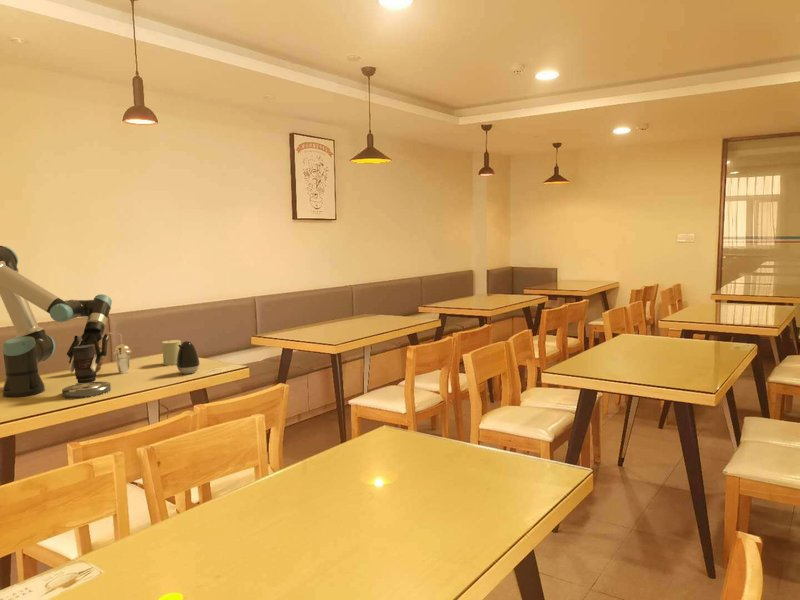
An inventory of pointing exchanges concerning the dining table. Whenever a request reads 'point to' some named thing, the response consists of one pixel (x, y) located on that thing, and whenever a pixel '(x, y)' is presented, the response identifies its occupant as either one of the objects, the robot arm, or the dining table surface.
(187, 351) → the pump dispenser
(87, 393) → the plate
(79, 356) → the camera lens
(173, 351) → the pale green cup
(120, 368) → the cup with straw
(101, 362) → the croissant
